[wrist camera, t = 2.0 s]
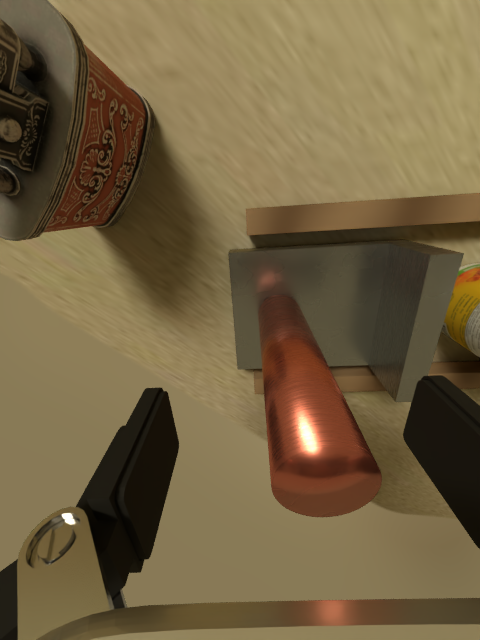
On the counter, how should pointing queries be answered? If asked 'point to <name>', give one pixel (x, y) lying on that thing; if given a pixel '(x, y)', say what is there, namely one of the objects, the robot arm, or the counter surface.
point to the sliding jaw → (334, 352)
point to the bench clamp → (370, 217)
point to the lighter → (63, 128)
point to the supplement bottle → (465, 309)
